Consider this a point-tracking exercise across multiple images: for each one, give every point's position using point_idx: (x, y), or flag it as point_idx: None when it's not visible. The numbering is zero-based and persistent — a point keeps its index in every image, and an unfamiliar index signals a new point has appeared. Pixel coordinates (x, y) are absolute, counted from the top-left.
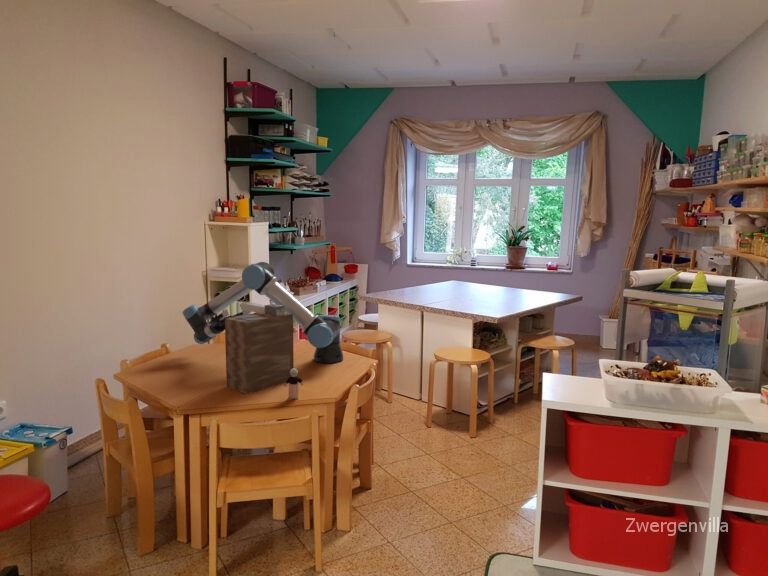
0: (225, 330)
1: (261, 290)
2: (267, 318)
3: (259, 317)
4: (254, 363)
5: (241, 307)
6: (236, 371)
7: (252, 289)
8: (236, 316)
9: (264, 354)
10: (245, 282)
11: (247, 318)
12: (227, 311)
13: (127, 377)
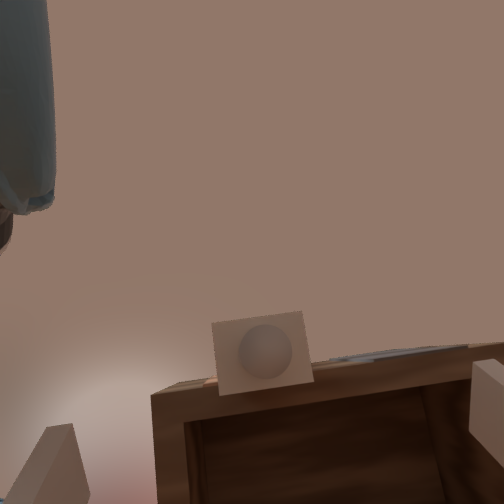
0: None
1: (2, 246)
2: (316, 362)
3: (338, 358)
4: None
5: (307, 356)
6: None
7: (8, 198)
8: (436, 349)
9: None
10: (51, 68)
11: (395, 351)
12: (475, 388)
13: None
